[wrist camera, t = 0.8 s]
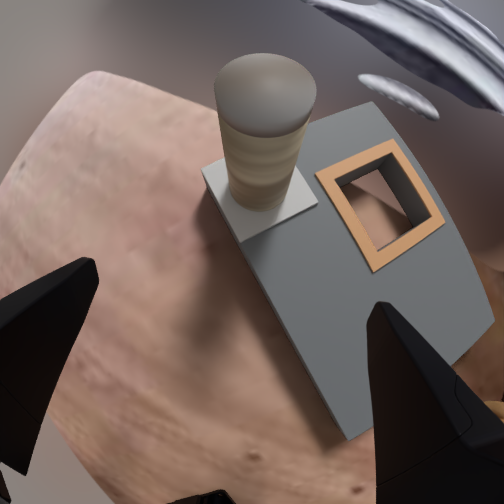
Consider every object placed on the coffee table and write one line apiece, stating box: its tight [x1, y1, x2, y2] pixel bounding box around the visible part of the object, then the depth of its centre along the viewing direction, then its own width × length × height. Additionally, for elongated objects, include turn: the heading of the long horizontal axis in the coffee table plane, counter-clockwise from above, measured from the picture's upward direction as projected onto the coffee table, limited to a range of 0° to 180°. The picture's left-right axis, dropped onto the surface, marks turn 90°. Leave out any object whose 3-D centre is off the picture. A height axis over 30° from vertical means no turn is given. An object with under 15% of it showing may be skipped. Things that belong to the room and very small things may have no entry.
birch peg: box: [214, 53, 316, 212], centre depth 15 cm, size 4×4×10 cm
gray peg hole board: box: [201, 102, 495, 441], centre depth 21 cm, size 22×16×3 cm
